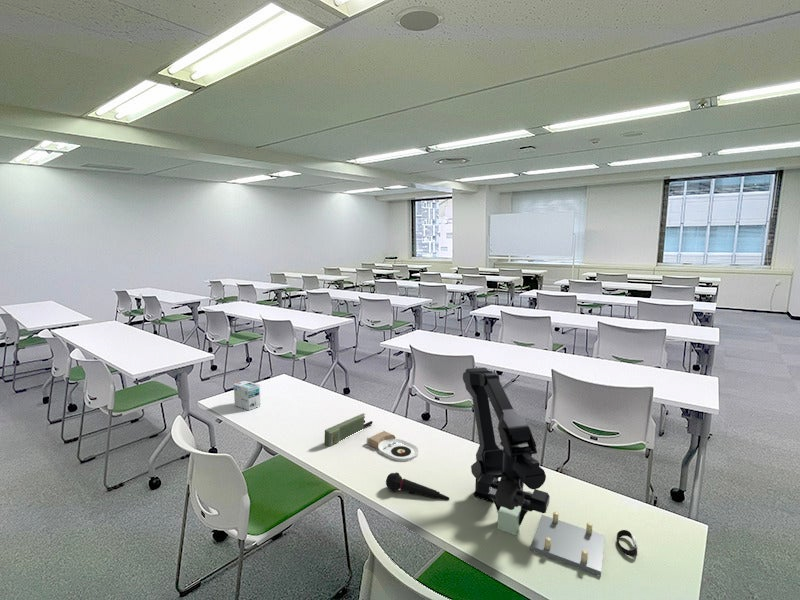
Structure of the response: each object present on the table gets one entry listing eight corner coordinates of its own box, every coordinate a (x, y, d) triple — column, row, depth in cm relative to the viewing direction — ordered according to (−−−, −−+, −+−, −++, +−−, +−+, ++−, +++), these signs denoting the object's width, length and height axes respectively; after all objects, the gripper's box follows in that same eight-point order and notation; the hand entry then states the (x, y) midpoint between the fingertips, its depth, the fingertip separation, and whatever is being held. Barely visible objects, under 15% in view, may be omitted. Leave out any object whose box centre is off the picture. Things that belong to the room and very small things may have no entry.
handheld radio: (323, 445, 156) (368, 423, 175) (328, 448, 153) (374, 426, 173) (323, 429, 154) (369, 409, 174) (329, 431, 152) (375, 411, 172)
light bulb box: (261, 406, 191) (260, 384, 189) (249, 411, 185) (248, 388, 184) (246, 401, 196) (245, 379, 195) (233, 406, 191) (233, 383, 189)
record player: (385, 428, 164) (425, 446, 151) (385, 435, 164) (424, 454, 151) (364, 438, 155) (403, 458, 142) (364, 446, 156) (403, 466, 142)
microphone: (448, 505, 125) (386, 486, 131) (451, 486, 126) (390, 468, 131) (446, 511, 120) (382, 491, 125) (449, 491, 121) (386, 471, 126)
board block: (497, 528, 111) (498, 511, 110) (504, 514, 117) (505, 497, 116) (515, 535, 109) (517, 518, 108) (522, 520, 115) (523, 503, 114)
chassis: (530, 550, 103) (531, 536, 103) (541, 518, 115) (542, 506, 115) (600, 576, 96) (602, 561, 95) (604, 539, 108) (606, 526, 107)
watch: (641, 560, 101) (642, 547, 100) (620, 556, 102) (621, 543, 102) (632, 539, 108) (633, 526, 108) (613, 535, 109) (614, 523, 109)
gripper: (469, 471, 108) (467, 526, 110) (543, 494, 99) (539, 552, 101) (483, 453, 118) (481, 503, 120) (551, 472, 109) (547, 526, 111)
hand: (510, 520), depth 113 cm, fingers closed on board block, 5 cm apart
